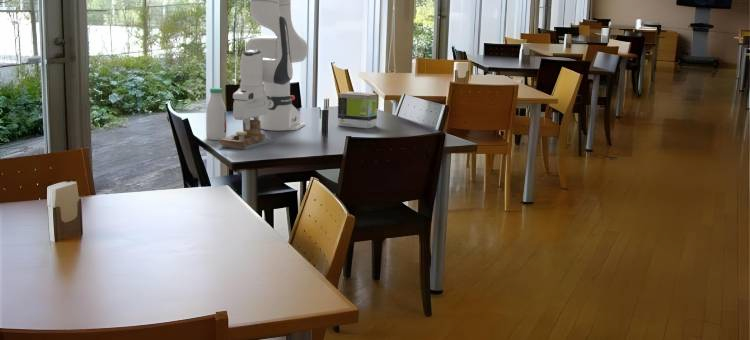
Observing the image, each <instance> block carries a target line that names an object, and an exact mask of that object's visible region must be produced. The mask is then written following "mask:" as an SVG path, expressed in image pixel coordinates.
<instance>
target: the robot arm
mask: <svg viewBox="0 0 750 340" xmlns="http://www.w3.org/2000/svg"><path fill="white" fill-rule="evenodd" d="M291 1H292V0H250V3H249V5H250V6H249V7H250V9H249V11H250V13H249V14H250V16H251V17H252V20H253V21H254V22H255V23H256V24H258V25H260V26H262V27H263V28H266V29H268V30H270V31H271V32H272V33H273V34H275V35H257V36H253V37H250V39H249V40H248V41H247V43H246V47H245V48H246V49H245V50H244V51H242V52H241V56H240V57H241V58H240V65H239V75H240V83H239V88H238V89H237V90H236V91H235V92H233V94H232V99H233V103H232V104H233V105H232V113H233V118H234V119H235V120H237V121H243V120H244V123H245V125H246V130H250V129H251V125H250V119H253V120H260V124H261V130H265V131H266V130H267V131H297V130H299V129H301V128H303V127H305V126H306V123H305V122H303V121H301V114H300V111H299V110H298V109H297V108H296V107H295V106H294V105H293V101H295V98H296V97H295V95H293V94H292V95H291V80H292V78H293V76H294V75H293V73H294V72H293V70H294V69H293V64H296V63H302V62H303V61H305V60H306V58H307V56H308V54H309V47H308V43H307V42H306V40H305V39H304V38H302V37H301V36H300V35H299V33H298V32H297V31H296V30H295V27H294V25H293V22H292V14H291V13H292V10H291Z"/></svg>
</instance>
